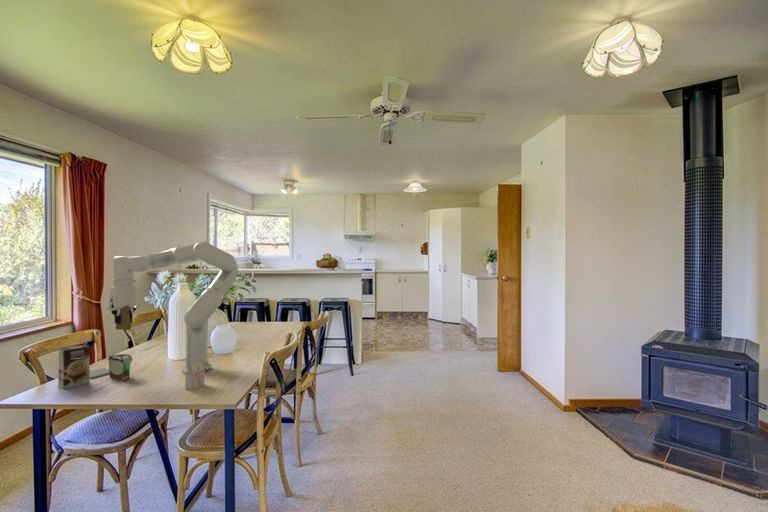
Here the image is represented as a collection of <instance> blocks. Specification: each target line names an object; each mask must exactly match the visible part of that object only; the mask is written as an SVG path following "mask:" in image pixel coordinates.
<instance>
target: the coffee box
mask: <svg viewBox="0 0 768 512" xmlns="http://www.w3.org/2000/svg"><path fill="white" fill-rule="evenodd" d="M90 353H91V346H90V345H87V344H80V345H79V344H78V345H72V346H67V347H61V348H58V379H57V381H58V382H57V383H58V387H60V388H61V389H64V390H65V389H69V388H73V387H77V386H81V385H85V384H89V383H90V379H89V374H90V371H91V370H90V363H91V362H90V360H91V356H90V355H91V354H90Z"/></svg>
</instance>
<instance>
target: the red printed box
mask: <svg viewBox="0 0 768 512" xmlns="http://www.w3.org/2000/svg"><path fill="white" fill-rule="evenodd" d="M205 372H206V371H204V368H203V366H202V361H201V362H198V363H195V364H193V365H190V366H189V368H188V371H187V373H185V381H184V382H185V386H184V388H185V390H186V389H189V391H195V390H196V388H197V389H199V388H200V386H201V387H203V386H205V378H206V377H205V374H206V373H205ZM202 385H203V386H202ZM198 387H199V388H198ZM194 389H195V390H194Z"/></svg>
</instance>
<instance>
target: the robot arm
mask: <svg viewBox="0 0 768 512" xmlns="http://www.w3.org/2000/svg"><path fill="white" fill-rule="evenodd" d="M198 261H203V262H205V263H206V264H208V265H211V266H213V267H215V268H217V269H219V272H218V274H217V275H216V277H215V278H214V279H213V281H212V282H211V283H210V284H209V286H208V287H206V288H205V289H204V290H203V291H202V292H201V294H200V296H199V297H198V298H197V299H196V300H195V302H194V303H193V304H192V305H191V306H190V307H188V309H187V310H186V311H185V313H184V316H183V317H184V318H183V319H184V320H183V321H184V323H185V366H184V367H182V368H181V373H183V372H184V373H183V374H186V373H187V371H188V368H189V366H190V365H193V364H195V363H198V362H201V361H202V366H203V368H204V371H205V372H207V371H206V370H208V369H209V370H210V369H211V368H212V366H213V365H212V363H209V362H210V360H209V359H208V351H209V350H208V347H209V346H208V339H209V336H208V333H209V332H208V331H209V327H208V326H209V320H210V318H211V317H212V316H213V314H214V313H215V312H216V310H217V309H218V308H219V306H220V305H222V304H221V303H222V301H223V298H224V296H225V295H226V294H227V293H228V291H229V290H230V289H231V288H232V286H233V284H234V283H235V282H236V280H237V278H238V272H239V267H238V264H237V261H236V259H235V256H234V255H232V254H230V253H229V252H227V251H225V250H223V249H221V248H218V247H216V246H214V245H213V244H211V243H210V242H208V241H199V242H196V243H191V244H186V245H181V246H176V247H173V248H170V249H168V250H164V251H160V252H156V253H151V254H147V255H146V254H145V255H137V256H129V255H117V256H114V257H113V260H112V263H113V264H112V266H113V268H112V270H113V271H112V273H113V274H112V275H113V277H112V278H113V281H112V285H113V286H111V287H110V290H109V295H108V305H107V307H106V308H105V311H106V312H109V313H111V314H112V315H113V316H114V324H115V325H116V324H117V323H118V325H120V324H121V316H120V311H121V308H123V307H124V306H126V305H128V306H130V310H129V314H130V321H131V324H132V323H133V314H134V313H135V311H136V310H137V309H138V308H140V307H141V304H140V303H139V302H138V294H137V288H136V285H135V284H136V283H137V279H135V277H134V276H135V275H134V273H135V272H137V273H145V272H150V271H153V270H158V269H163V268H166V267H172V266H174V267H175V266H180V265H186V264H190V263H193V262H198ZM209 370H208V371H209Z"/></svg>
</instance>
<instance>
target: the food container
mask: <svg viewBox="0 0 768 512" xmlns="http://www.w3.org/2000/svg"><path fill="white" fill-rule="evenodd" d="M107 361H108V369H109V374H108V375H109V379H110V378H111V380H115V381H119V382H125V381H128V380H129V379H130V373H131V371H130V370H131V362H133V356H132V355H131V354H127V353H123V354H121V353H119V354H113V355H108V357H107ZM127 379H128V380H127Z"/></svg>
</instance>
